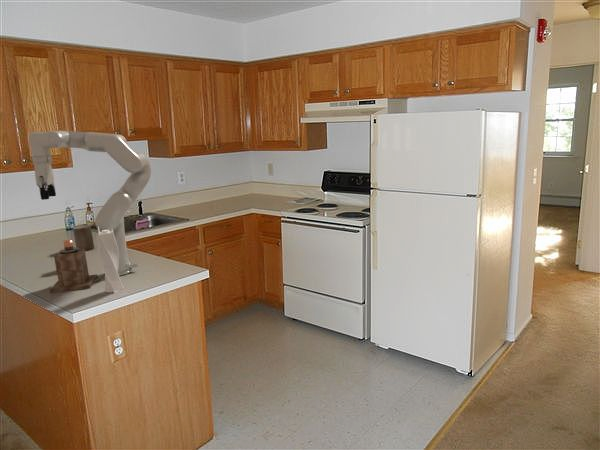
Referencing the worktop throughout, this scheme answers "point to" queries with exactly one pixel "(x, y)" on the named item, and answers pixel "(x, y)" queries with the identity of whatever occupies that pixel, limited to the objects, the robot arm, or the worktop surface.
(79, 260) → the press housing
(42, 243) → the worktop surface
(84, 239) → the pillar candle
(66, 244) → the plunger
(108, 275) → the skyscraper
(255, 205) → the worktop surface
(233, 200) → the worktop surface
